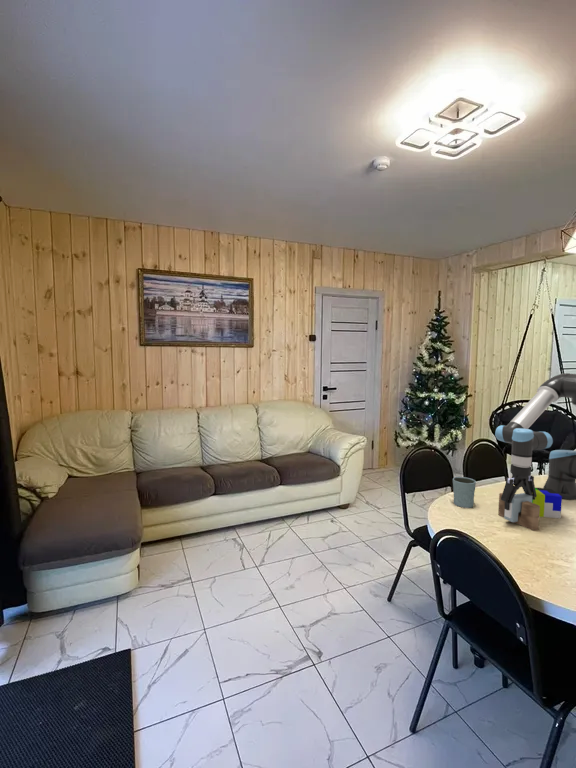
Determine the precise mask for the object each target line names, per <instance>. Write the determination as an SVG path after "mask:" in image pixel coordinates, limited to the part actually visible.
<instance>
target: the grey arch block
mask: <svg viewBox="0 0 576 768" xmlns="http://www.w3.org/2000/svg"><path fill="white" fill-rule="evenodd" d="M508 500H509V499H508ZM526 501H529V502H531V503H532V496H530V495H527V494H525V492H523V493H522V492H521V493H515V495H514V497H513V499H512V501H511V503H512V517H511V518H508V517H506V516H505V513H504V517H503V519H504V520H506V521H509V522H511V523H515V522H517V521H518V512H519V513H521V509H522V502H526Z"/></svg>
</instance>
